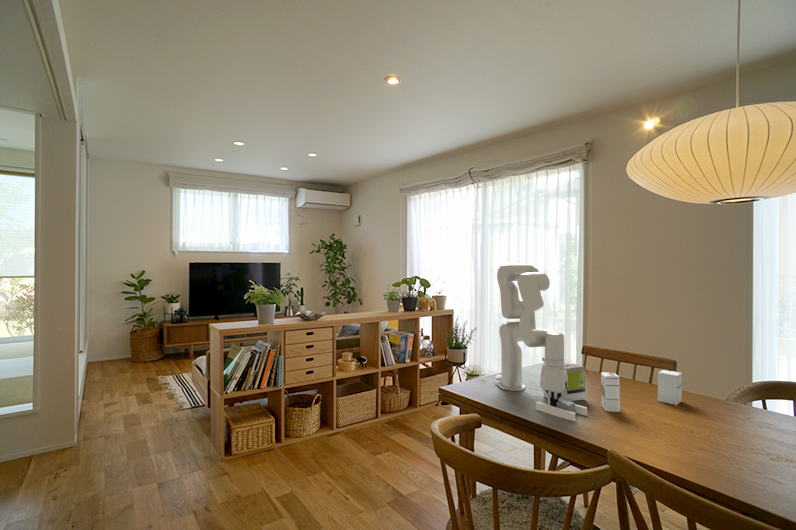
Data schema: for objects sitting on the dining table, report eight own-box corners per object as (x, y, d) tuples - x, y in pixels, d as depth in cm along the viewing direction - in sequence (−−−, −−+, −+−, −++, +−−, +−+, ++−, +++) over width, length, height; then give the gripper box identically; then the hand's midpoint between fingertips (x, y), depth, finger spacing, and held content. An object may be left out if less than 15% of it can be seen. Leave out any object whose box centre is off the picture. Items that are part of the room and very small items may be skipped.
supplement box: (677, 405, 170) (677, 375, 169) (657, 401, 175) (657, 372, 175) (682, 401, 174) (682, 372, 174) (662, 397, 180) (662, 369, 180)
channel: (535, 409, 165) (535, 402, 165) (549, 404, 171) (549, 396, 171) (573, 421, 152) (573, 413, 152) (586, 415, 159) (586, 407, 159)
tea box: (569, 393, 186) (569, 361, 186) (586, 400, 176) (586, 366, 176) (542, 396, 181) (542, 363, 181) (557, 404, 172) (557, 369, 172)
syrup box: (620, 412, 162) (620, 376, 162) (604, 411, 163) (604, 375, 163) (615, 407, 167) (615, 372, 167) (600, 406, 169) (600, 371, 169)
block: (556, 413, 161) (556, 402, 161) (563, 410, 164) (563, 399, 164) (568, 417, 157) (568, 405, 157) (574, 414, 160) (574, 402, 160)
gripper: (532, 360, 168) (532, 404, 168) (567, 367, 156) (567, 415, 156) (542, 357, 172) (542, 400, 172) (576, 364, 161) (576, 410, 161)
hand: (554, 407), depth 164 cm, fingers closed
